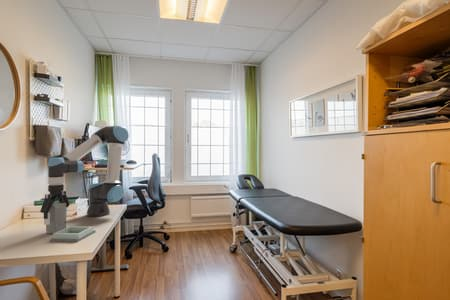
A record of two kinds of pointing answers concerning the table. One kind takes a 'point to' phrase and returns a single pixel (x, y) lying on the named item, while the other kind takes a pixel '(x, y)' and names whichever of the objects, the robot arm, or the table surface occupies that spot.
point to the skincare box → (57, 218)
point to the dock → (72, 234)
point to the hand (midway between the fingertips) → (55, 221)
